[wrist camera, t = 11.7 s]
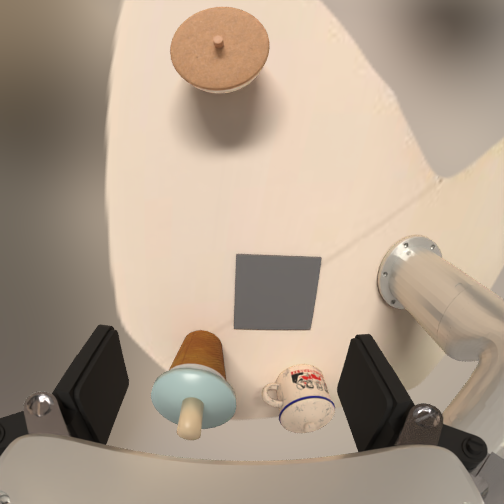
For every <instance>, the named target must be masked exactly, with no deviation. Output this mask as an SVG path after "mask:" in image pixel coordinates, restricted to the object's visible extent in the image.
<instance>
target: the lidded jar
mask: <svg viewBox="0 0 504 504" xmlns="http://www.w3.org/2000/svg"><path fill="white" fill-rule="evenodd" d="M268 53H269V38H268V35H267V32H266V30H265V28H264V27H263V25H262V24H261V23H260V22H259V21H258V19H256V18H255V17H254V16H252V15H251V14H249V13H247V12H245V11H243V10H240V9H236V8H231V7H215V8H209V9H206V10H203V11H200V12H198V13H196V14H194V15H192V16H191V17H189V18H188V19H187V20H186V21H184V22H183V23H182V24H181V26H180V27H179V28H178V29H177V31H176V33H175V34H174V37H173V39H172V42H171V49H170V54H171V60H172V63H173V66H174V67H175V69H176V71H177V72H178V73H179V74H180V76H181V77H182V78H183V79H185V80H186V81H187V82H189V83H190V84H191V85H193V86H194V87H196V88H198V89H200V90H203V91H205V92H209V93H217V94H218V93H229V92H233V91H236V90H239V89H241V88H243V87H245V86H246V85H248V84H249V83H251V82H252V81H253V80H254V79H255V78H256V77H257V75H258V74H259V73H260V71H261V70H262V68H263V66H264V64H265V62H266V60H267V57H268Z"/></svg>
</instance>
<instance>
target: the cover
mask: <svg viewBox="0 0 504 504" xmlns="http://www.w3.org/2000/svg"><path fill="white" fill-rule="evenodd" d="M151 399H152V402H153V405H154V407H155V408H156V410H157V411H158V412H159V413H160V414H161V415H162V416H163V417H165V418H166V419H168V420H170V421H171V422H173V423H175V424H178V428H177V434H178V435H179V436H180V437H181V438H183V439H186V440H196V439H199V438H200V436H201V429H208V428H213V427H216V426H220V425H222V424H224V423H226V422H227V421H229V420H230V419H231V418H232V416H233V415H234V413H235V410H236V395H235V392H234V390H233V388H232V387H231V386H230V384H229V383H228V382H227V381H225V380H224V379H223V378H221V377H220V376H218V375H216V374H214V373H212V372H209V371H206V370H202V369H197V368H176V369H172V370H169V371H167V372H164V373H163V374H161V375H160V376H159V377H158V378H157V380H156V381H155V383H154V386H153V389H152V393H151Z"/></svg>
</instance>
